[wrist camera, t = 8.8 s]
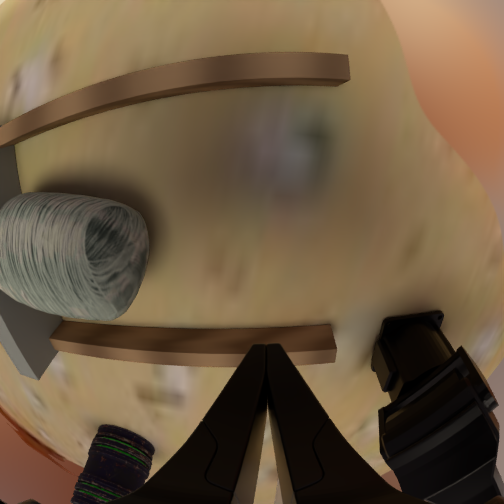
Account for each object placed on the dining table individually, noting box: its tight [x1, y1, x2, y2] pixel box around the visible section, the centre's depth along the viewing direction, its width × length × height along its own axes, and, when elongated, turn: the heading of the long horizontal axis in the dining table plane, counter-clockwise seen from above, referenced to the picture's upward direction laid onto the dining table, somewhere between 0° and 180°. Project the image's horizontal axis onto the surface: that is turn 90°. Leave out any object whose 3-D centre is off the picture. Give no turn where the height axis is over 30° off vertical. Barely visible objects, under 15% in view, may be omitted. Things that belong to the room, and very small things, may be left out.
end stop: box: [0, 125, 63, 380], centre depth 17 cm, size 3×22×7 cm, turn 4°
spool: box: [0, 192, 150, 321], centre depth 17 cm, size 14×10×10 cm
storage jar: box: [71, 424, 155, 504], centre depth 28 cm, size 10×10×15 cm
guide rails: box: [0, 52, 350, 367], centre depth 18 cm, size 26×21×3 cm
